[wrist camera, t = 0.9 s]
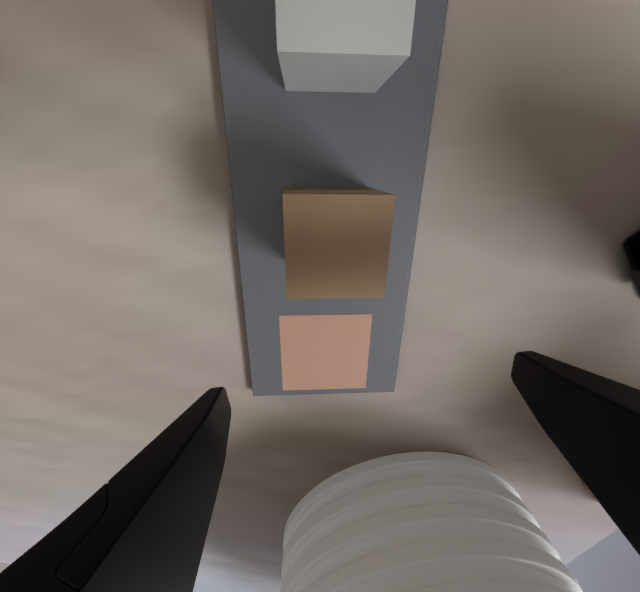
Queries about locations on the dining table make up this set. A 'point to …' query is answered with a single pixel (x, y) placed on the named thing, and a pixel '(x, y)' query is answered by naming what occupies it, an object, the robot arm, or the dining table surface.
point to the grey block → (342, 43)
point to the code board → (321, 171)
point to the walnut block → (336, 241)
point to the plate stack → (418, 531)
